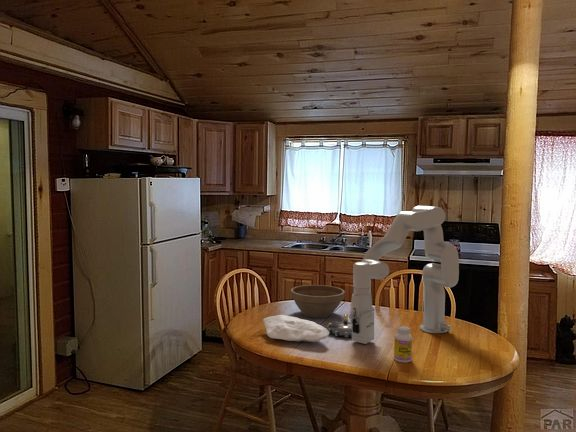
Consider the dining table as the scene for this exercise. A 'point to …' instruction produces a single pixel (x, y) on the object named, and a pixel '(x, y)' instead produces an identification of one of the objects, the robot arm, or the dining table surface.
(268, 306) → the dining table surface
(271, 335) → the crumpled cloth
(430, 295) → the robot arm
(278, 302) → the dining table surface
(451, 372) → the dining table surface
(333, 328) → the sprocket disc
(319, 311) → the flower pot
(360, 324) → the supplement box
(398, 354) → the supplement bottle
